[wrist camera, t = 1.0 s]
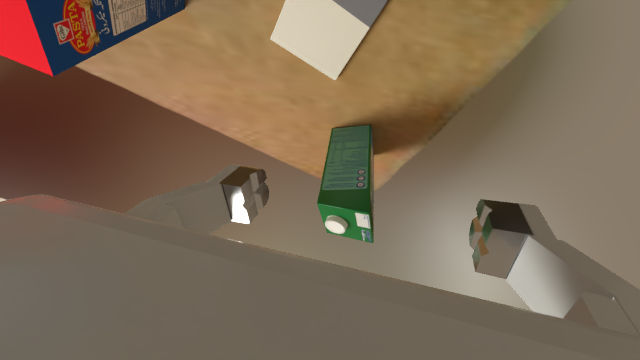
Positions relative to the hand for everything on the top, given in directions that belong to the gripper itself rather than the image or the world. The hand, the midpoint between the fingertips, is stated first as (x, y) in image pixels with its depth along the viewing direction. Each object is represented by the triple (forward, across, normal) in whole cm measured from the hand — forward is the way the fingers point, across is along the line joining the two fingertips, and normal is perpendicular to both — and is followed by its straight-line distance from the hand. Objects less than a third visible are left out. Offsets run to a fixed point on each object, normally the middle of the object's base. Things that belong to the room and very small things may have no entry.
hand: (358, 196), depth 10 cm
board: (+42, +13, -8) cm, 45 cm away
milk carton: (+49, +11, +20) cm, 54 cm away
